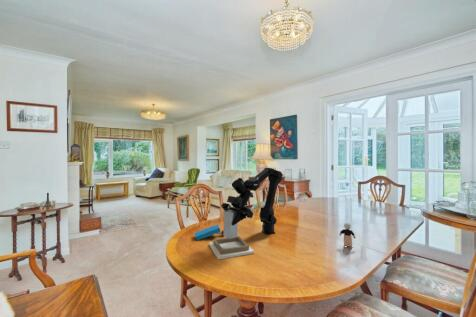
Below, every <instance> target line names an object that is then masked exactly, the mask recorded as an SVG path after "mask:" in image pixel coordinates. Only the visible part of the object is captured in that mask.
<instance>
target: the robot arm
mask: <svg viewBox="0 0 476 317" xmlns="http://www.w3.org/2000/svg"><path fill="white" fill-rule="evenodd" d="M267 178H268V182H269V185H268V189H267V194H266V199H265V203H264V206H263V207H260V211H259V219H260V222H261V223H262V227H261V228H262V229H261V232H262V233H264V234H265V235H272V234H276V231H275V225H276V224H277V222H278V219H277V218H276V216H275V211H274V208H273V207H274V204H275V198H276V193H277V188H278V185H279V184H280V183H281V182H282V180H283V173H282V171H280V170H276V169H274V168H273V167H264V168H263V170H261V171H260V172H259V173H258V174H256V175H255V176H253V177H250V178H248V179H246V180H245V181H244V179H243V178H242V177H238V178H237V179H235V180H234V181H233V182H232V183H231V187H232V188H233V190H234V191H235V192H236V193H237V194H238V195H237V196H234V195H233V196H232V195H228V197H227V200H226V202H227V203H226V202H223V203H222V204H221V205H220V206H221V209H223V211H227V210H230V209H231V210H235V211H237V215H236V217H235V219H234V221H233V223H232V225H233V226H234V225H235V224H237V225H238V223H240V222H241V221H243V220H245V219H247V218H249V219H252V218H253V216H254V212H253V211H252V210H251V208H250V207H247V206H249V204H248V202H249V200H250V198H254V193H253V192H256V191H257V190H258V189H259V188H260V186H261V185H260V184H261V183H262V182H264V181H265V180H266V179H267ZM251 191H253V192H251Z"/></svg>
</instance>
